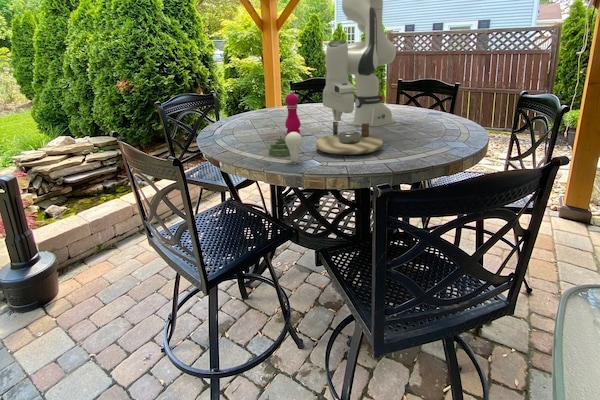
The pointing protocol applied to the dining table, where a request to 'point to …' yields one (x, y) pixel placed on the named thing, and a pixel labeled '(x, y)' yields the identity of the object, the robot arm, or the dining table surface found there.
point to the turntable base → (348, 154)
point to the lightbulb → (293, 144)
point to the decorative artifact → (279, 148)
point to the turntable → (364, 146)
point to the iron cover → (349, 137)
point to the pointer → (335, 128)
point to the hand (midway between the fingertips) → (337, 120)
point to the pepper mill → (292, 114)
